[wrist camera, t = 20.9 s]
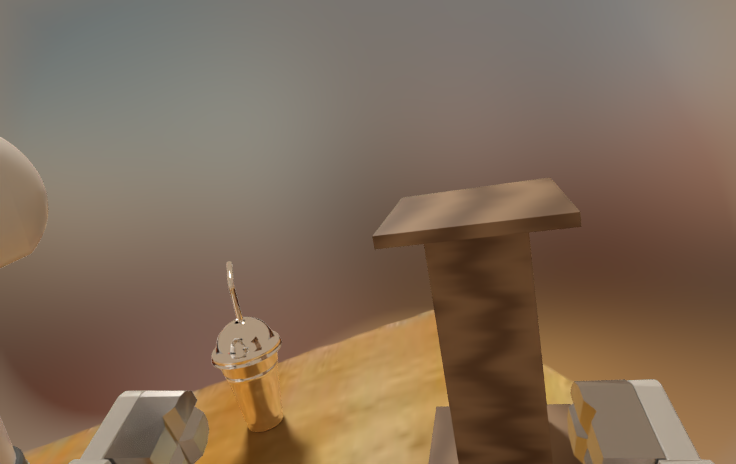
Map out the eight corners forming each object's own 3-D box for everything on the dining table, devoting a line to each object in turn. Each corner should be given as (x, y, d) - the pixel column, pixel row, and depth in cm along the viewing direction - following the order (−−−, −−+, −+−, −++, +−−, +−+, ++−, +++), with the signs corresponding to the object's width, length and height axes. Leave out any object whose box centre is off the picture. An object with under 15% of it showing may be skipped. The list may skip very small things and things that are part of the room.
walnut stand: (425, 528, 40) (372, 236, 34) (439, 422, 53) (402, 197, 47) (604, 536, 37) (580, 211, 31) (572, 420, 50) (550, 177, 44)
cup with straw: (218, 443, 57) (173, 288, 52) (251, 399, 65) (215, 262, 61) (284, 443, 55) (242, 281, 50) (309, 396, 63) (275, 255, 59)
